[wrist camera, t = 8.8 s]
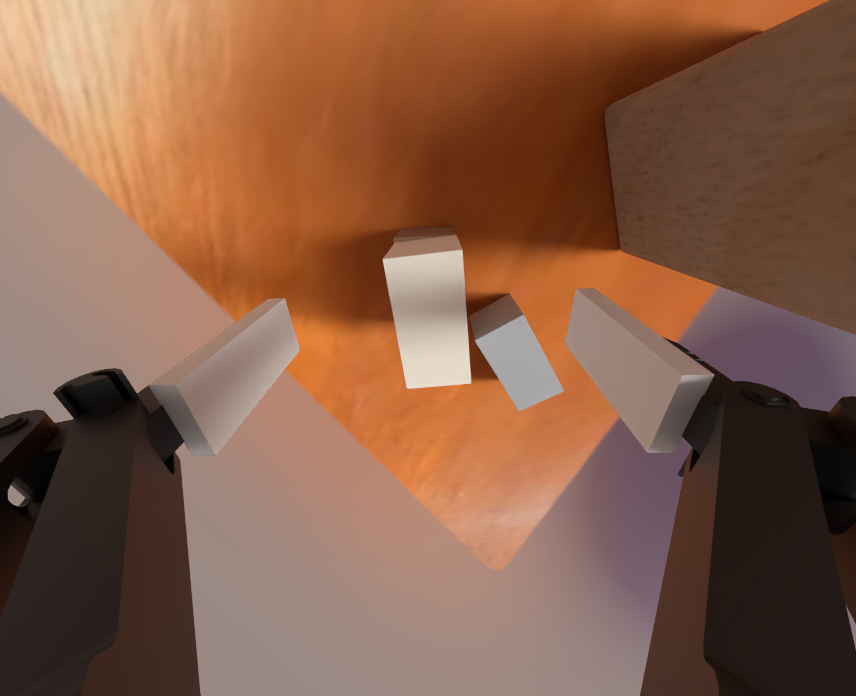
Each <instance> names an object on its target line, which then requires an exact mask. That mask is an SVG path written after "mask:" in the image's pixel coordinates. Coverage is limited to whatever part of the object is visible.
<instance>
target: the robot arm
mask: <svg viewBox="0 0 856 696" xmlns="http://www.w3.org/2000/svg"><path fill="white" fill-rule="evenodd" d="M565 345H566V346H567V347H568V349H569V350H570V351H571V353H572V354H573V355H574V357H575V358H576V359H577V361H578V362H579V363H580V364H581V366H582V367H583V368H584V370H585V371H586V372H587V374H588V375H589V376H590V378H591V379H592V380H593V382H594V383H595V384H596V386H597V387H598V388H599V390H600V391H601V392H602V393H603V395H604V396H605V397H606V399H607V400H608V401H609V403H610V404H611V405H612V407H613V408H614V409H615V411H616V412H617V413H618V415H619V416H620V417H621V419H622V420H623V421H624V422H625V424H626V425H627V426H628V428H629V429H630V430H631V432H632V433H633V434H634V436H635V437H636V438H637V440H638V441H639V442H640V443H641V445H642V446H643V448H644V449H645V450H646V451H647V453H674V452H675V451H676V448H677V447H678V445H679V443H680V441H681V439H682V437H683V438H684V439H685V440H686V441H687V442H688V443H689V444H690V445H691V446H692V449H691V451H690V453H689V455H688V457H687V459H686V460H685V462H684V464H683V466H682V468H681V469H680V471H679V473H678V475H679V476H681V477H683V481H682V486H681V491H680V496H679V501H678V507H677V512H676V517H675V522H674V527H673V532H672V537H671V543H670V547H669V552H668V557H667V562H666V568H665V572H664V577H663V582H662V588H661V592H660V597H659V602H658V607H657V613H656V618H655V623H654V628H653V633H652V638H651V643H650V648H649V653H648V658H647V663H646V668H645V673H644V678H643V683H642V689H641V693H640V696H856V649H855V644H854V640H853V635H852V631H851V627H850V622H849V618H848V613H847V609H846V606H847V608H848V610H849V611H850V613H851V615H852V617H853V619H854V621H855V623H856V397H853V396H851V397H842V398H841V399H840V400H839V401H838V402H837V403H836V405H835V406H834V407H833V408H832V410H831V411H830V412H827V411H821V410H814V409H808V408H802V407H800V406H799V404H798V402H797V401H795V400H794V399H793V398H791V397H790V396H788V395H787V394H784V393H782V392H780V391H778V390H776V389H774V388H771V387H768V386H765V385H762V384H757V383H752V382H747V381H746V382H745V381H734V382H733V381H732V380H730V379H729V378H727V377H726V376H725V375H723V374H722V373H720V372H719V371H717V370H716V369H714V368H713V367H712V366H710V365H709V364H707V363H706V362H704V361H701V359H700V358H699V357H697V356H696V355H694V354H691V352H690V351H688V350H687V349H686V348H684V347H683V346H681V345H680V344H678V343H676V342H673V341H671V340H669V339H666V338H664V337H661V336H660V335H658V334H657V333H656V332H654V331H653V330H651V329H650V328H649V327H647V326H646V325H644V324H643V323H642V322H640V321H639V320H637V319H636V318H635V317H633V316H632V315H631V314H629V313H628V312H626V311H625V310H624V309H622V308H621V307H619V306H618V305H617V304H615V303H614V302H612V301H611V300H610V299H608V298H607V297H605V296H604V295H603V294H601V293H600V292H598V291H597V290H596V289H594V288H588V289H576V292H575V297H574V302H573V306H572V311H571V316H570V321H569V326H568V331H567V336H566V341H565ZM299 351H300V349H299V345H298V342H297V338H296V335H295V331H294V328H293V325H292V321H291V318H290V314H289V311H288V308H287V304H286V301H285V298H275V299H267V300H266V301H265V302H263V303H262V304H261V305H259V306H258V307H256V308H255V309H254V310H252V311H251V312H249V313H248V314H247V315H245V316H244V317H242V318H241V319H240V320H238V321H237V322H236V323H234V324H233V325H232V326H230V327H229V328H227V329H226V330H224V331H223V332H222V333H220V334H219V335H218V336H216V337H215V338H213V339H212V340H211V341H209V342H208V343H206V344H205V345H204V346H202V347H201V348H199V349H198V350H197V351H195V352H194V353H193V354H191V355H190V356H188V357H187V358H186V359H184V360H183V361H181V362H180V363H179V364H177V365H176V366H174V367H173V368H172V369H170V370H169V371H167V372H166V373H165V374H163V375H162V376H161V377H159V378H158V379H156V380H155V381H154V382H152V383H151V384H149V385H148V386H147V387H146V388H144V389H143V390H141V391H140V392H139V393H136V392H135V390H134V388H133V387H132V385H131V384H130V382H129V381H128V379H127V378H126V376H125V375H124V373H123V372H122V370H121V369H115V368H114V369H104V370H99V371H95V372H91V373H89V374H85V375H82V376H79V377H77V378H75V379H73V380H70V381H68V382H66V383H65V384H64V385H62V386H60V387H58V388H57V389H56V390H55V391H54V392H53V394H54V395H55V396H56V397H57V398H58V400H59V401H60V402H61V403H62V404H63V406H64V407H65V408H66V409H67V410H68V412H69V413H70V414H71V415H72V417H73V418H74V419H73V420H68V421H63V422H58V423H54V422H53V421H52V419H51V418H50V417H49V416H48V415H47V414H46V413H45V412H44V411H43V410H32V411H26V412H22V413H19V414H12V415H9V416H6V417H4V418H1V419H0V696H201V695H200V685H199V676H198V662H197V651H196V640H195V627H194V616H193V604H192V593H191V581H190V570H189V557H188V547H187V534H186V523H185V511H184V499H183V488H182V476H181V465H180V459H179V457H178V456H177V454H176V453H175V451H176V450H177V449H178V448H179V446H181V444H182V443H183V442H184V443H185V445H186V446H187V448H188V450H189V451H190V453H191V455H192V456H216V454H218V452H219V451H220V450H221V448H222V447H223V446H224V445H225V443H226V442H227V441H228V440H229V438H230V437H231V436H232V435H233V433H234V432H235V431H236V430H237V428H238V427H239V426H240V425H241V423H242V422H243V421H244V420H245V418H246V417H247V416H248V415H249V413H250V412H251V411H252V410H253V408H254V407H255V406H256V405H257V403H258V402H259V401H260V399H261V398H262V397H263V396H264V394H265V393H266V392H267V391H268V390H269V388H270V387H271V386H272V384H273V383H274V382H275V381H276V379H277V378H278V377H279V376H280V374H281V373H282V372H283V371H284V369H285V368H286V367H287V366H288V364H289V363H290V362H291V361H292V359H293V358H294V357H295V356H296V354H297V353H298V352H299ZM683 475H684V476H683ZM10 485H12V486H13V487H14V488H15V489H16V490H18V492H20V493H21V494H22V495H23V496H24V497H25V499H24V501H23V502H22V503H21V504H20V505H19V506H18V507H17V506H15V505H13V504H12V503H10V502H9V500H8V489H9V487H10Z"/></svg>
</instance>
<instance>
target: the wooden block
mask: <svg viewBox="0 0 856 696" xmlns="http://www.w3.org/2000/svg"><path fill="white" fill-rule="evenodd" d="M604 118H605V126H606V135H607V143H608V151H609V160H610V168H611V176H612V185H613V193H614V201H615V210H616V218H617V226H618V235H619V243H620V248H621V250H622V251H623V252H625V253H627V254H630V255H633V256H636V257H639V258H641V259H644V260H647V261H650V262H653V263H656V264H658V265H661V266H664V267H667V268H670V269H672V270H675V271H678V272H681V273H684V274H686V275H689V276H692V277H695V278H698V279H701V280H703V281H706V282H709V283H712V284H715V285H717V286H720V287H723V288H726V289H729V290H731V291H734V292H737V293H740V294H743V295H746V296H748V297H751V298H754V299H757V300H760V301H762V302H765V303H768V304H771V305H774V306H776V307H779V308H782V309H785V310H788V311H791V312H794V313H796V314H799V315H802V316H805V317H807V318H810V319H813V320H816V321H819V322H822V323H824V324H827V325H830V326H833V327H835V328H838V329H841V330H844V331H847V332H850V333H852V334H856V0H830V1H828V2H825V3H823V4H821V5H819V6H817V7H815V8H813V9H811V10H808V11H806V12H804V13H802V14H800V15H798V16H796V17H793V18H791V19H789V20H787V21H785V22H783V23H781V24H779V25H776V26H774V27H772V28H770V29H768V30H766V31H764V32H762V33H760V34H757V35H755V36H753V37H751V38H749V39H747V40H745V41H743V42H741V43H739V44H736V45H734V46H732V47H730V48H728V49H726V50H724V51H722V52H720V53H717V54H715V55H713V56H711V57H709V58H707V59H705V60H703V61H701V62H699V63H696V64H694V65H692V66H690V67H688V68H686V69H684V70H682V71H680V72H677V73H675V74H673V75H671V76H669V77H667V78H665V79H663V80H661V81H658V82H656V83H654V84H652V85H650V86H648V87H646V88H644V89H642V90H640V91H637V92H635V93H633V94H631V95H629V96H627V97H625V98H623V99H621V100H618V101H616V102H614V103H612V104H611V105H610V106H609V107H608V108H607V109H606V110H605V115H604Z"/></svg>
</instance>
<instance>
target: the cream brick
mask: <svg viewBox="0 0 856 696" xmlns="http://www.w3.org/2000/svg"><path fill="white" fill-rule="evenodd" d="M383 264H384V270H385V275H386V280H387V286H388V291H389V296H390V301H391V307H392V312H393V317H394V322H395V328H396V333H397V338H398V344H399V349H400V354H401V359H402V365H403V370H404V375H405V381H406V386H407V389H411V388H423V387H435V386H446V385H458V384H470V383H471V372H470V357H469V342H468V326H467V311H466V296H465V281H464V266H463V251H462V247H461V245H460V242H459V240H458V237H457V235H452V236H444V237H436V238H428V239H420V240H412V241H404V242H396V243H394V244H393V246H392V247H391V248H390V250H389V251H388V253H387V254H386V255H385V257H384V258H383Z"/></svg>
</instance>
